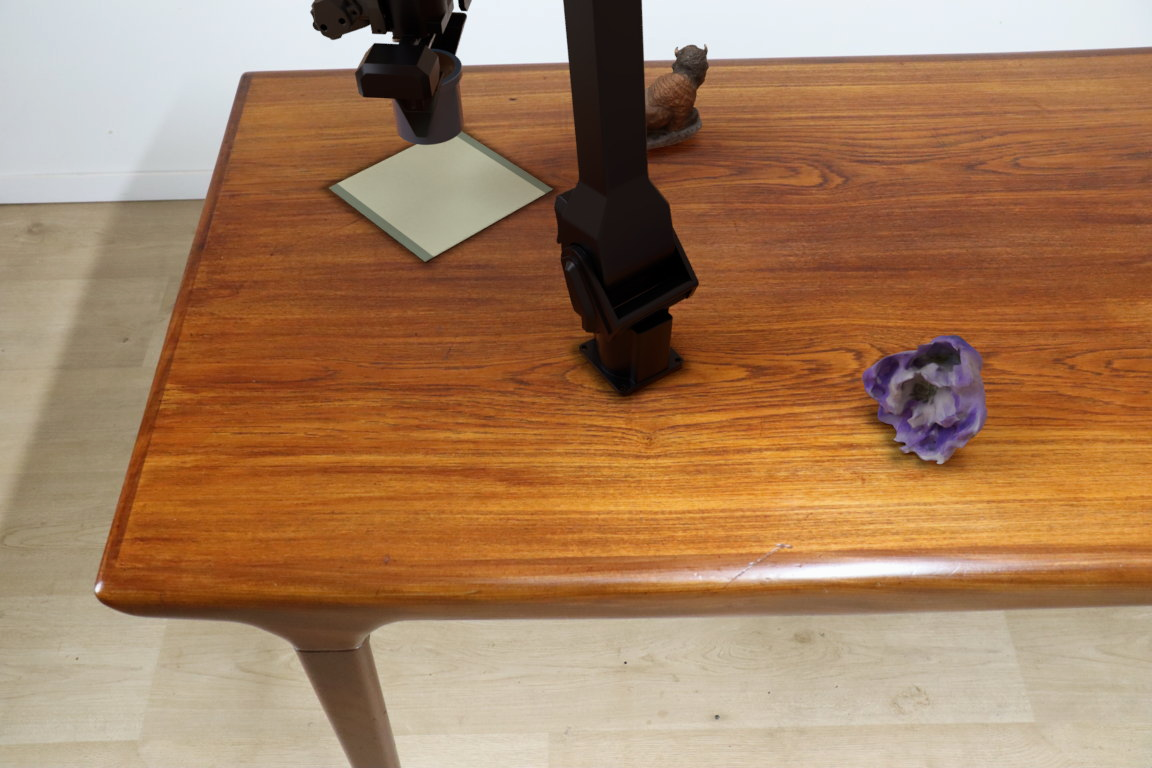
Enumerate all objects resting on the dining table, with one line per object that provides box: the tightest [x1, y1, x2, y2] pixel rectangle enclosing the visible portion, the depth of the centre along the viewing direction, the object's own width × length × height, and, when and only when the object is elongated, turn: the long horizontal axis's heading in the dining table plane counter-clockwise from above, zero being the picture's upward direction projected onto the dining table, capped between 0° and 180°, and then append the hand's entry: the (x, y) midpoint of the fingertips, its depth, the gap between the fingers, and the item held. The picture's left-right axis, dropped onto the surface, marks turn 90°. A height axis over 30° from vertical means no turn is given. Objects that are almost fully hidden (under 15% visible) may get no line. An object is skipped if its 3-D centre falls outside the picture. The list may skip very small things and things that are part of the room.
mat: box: [328, 130, 554, 263], centre depth 95 cm, size 16×16×1 cm
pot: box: [390, 49, 465, 145], centre depth 88 cm, size 7×7×6 cm
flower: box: [861, 334, 988, 465], centre depth 72 cm, size 9×9×10 cm
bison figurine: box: [645, 43, 710, 151], centre depth 97 cm, size 12×7×10 cm, turn 106°
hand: (430, 116), depth 89 cm, fingers closed on pot, 6 cm apart
